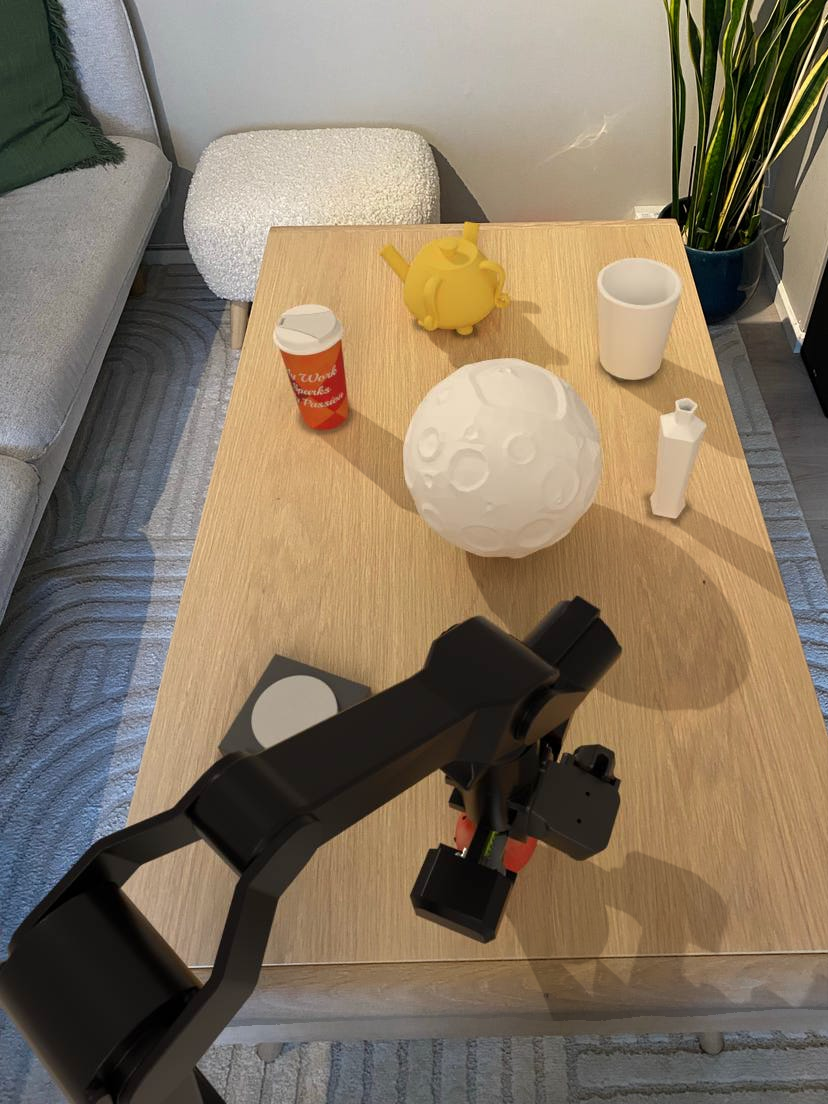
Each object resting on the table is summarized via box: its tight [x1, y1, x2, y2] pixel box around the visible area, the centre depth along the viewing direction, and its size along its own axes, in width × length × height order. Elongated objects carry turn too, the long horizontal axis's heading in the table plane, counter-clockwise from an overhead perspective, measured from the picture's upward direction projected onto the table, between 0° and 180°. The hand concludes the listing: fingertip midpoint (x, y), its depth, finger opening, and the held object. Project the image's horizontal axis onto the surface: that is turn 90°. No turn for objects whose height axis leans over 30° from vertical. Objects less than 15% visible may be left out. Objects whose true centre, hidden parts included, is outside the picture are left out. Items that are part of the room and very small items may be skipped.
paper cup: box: [272, 303, 349, 431], centre depth 106 cm, size 8×8×14 cm
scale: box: [217, 653, 373, 758], centre depth 82 cm, size 10×10×3 cm
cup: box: [596, 257, 684, 383], centre depth 110 cm, size 10×10×13 cm
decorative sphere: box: [402, 357, 603, 560], centre depth 92 cm, size 20×20×20 cm
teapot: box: [378, 221, 511, 335], centre depth 119 cm, size 14×14×11 cm
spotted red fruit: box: [453, 812, 539, 873], centre depth 71 cm, size 8×7×10 cm
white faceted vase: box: [649, 397, 708, 519], centre depth 94 cm, size 5×4×15 cm
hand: (500, 838), depth 73 cm, fingers closed on spotted red fruit, 7 cm apart
